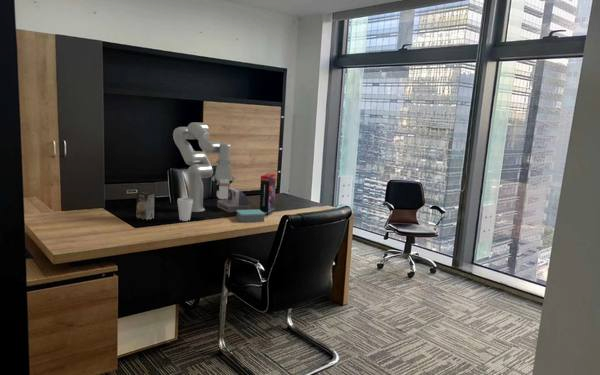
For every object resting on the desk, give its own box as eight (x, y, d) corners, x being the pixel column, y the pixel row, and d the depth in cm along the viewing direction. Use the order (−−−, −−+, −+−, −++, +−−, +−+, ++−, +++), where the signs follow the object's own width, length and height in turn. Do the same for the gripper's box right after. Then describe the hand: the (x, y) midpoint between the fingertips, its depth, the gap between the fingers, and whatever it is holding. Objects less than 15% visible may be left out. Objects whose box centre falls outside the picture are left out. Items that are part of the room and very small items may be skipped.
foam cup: (195, 219, 277) (195, 199, 275) (187, 222, 268) (188, 201, 266) (181, 217, 279) (182, 197, 277) (174, 220, 271) (174, 199, 268)
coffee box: (135, 217, 270) (135, 192, 267) (143, 216, 276) (143, 191, 273) (147, 220, 266) (147, 194, 264) (154, 218, 272) (154, 192, 269)
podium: (240, 222, 276) (241, 214, 275) (235, 217, 288) (236, 209, 287) (265, 221, 283) (265, 213, 282) (258, 217, 294) (259, 209, 294)
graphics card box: (268, 216, 298) (270, 176, 294) (258, 215, 300) (260, 175, 295) (274, 211, 315) (276, 174, 311) (265, 210, 316) (267, 173, 312)
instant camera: (215, 206, 319) (216, 186, 317) (242, 205, 329) (243, 185, 327) (224, 212, 301) (225, 191, 298) (252, 211, 310) (253, 190, 308)
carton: (219, 198, 278) (220, 180, 276) (216, 195, 286) (217, 177, 284) (227, 198, 281) (228, 180, 279) (224, 196, 288) (226, 178, 286)
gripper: (211, 163, 273) (210, 191, 276) (238, 164, 279) (236, 191, 282) (209, 161, 279) (208, 189, 282) (235, 162, 286) (234, 189, 289)
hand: (222, 190), depth 282 cm, fingers closed on carton, 5 cm apart
